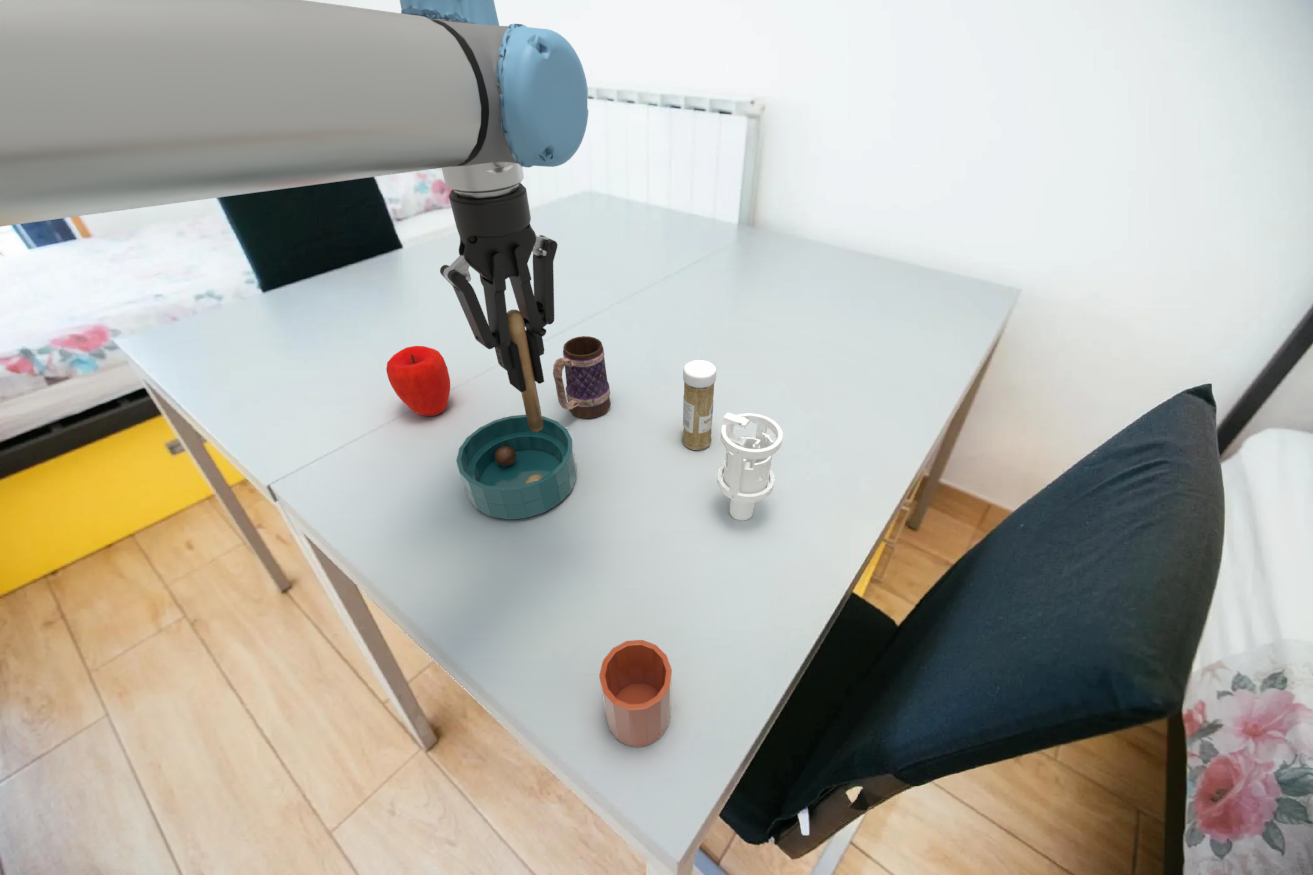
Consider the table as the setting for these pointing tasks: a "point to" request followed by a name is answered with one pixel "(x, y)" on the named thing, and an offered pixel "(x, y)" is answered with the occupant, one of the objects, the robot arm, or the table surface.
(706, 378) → the sprinkles bottle
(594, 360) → the mug
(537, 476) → the bead
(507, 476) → the bowl
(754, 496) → the white cylindrical cage
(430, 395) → the apple
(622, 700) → the utensil pot
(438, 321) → the table surface
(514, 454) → the bead
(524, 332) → the stick
